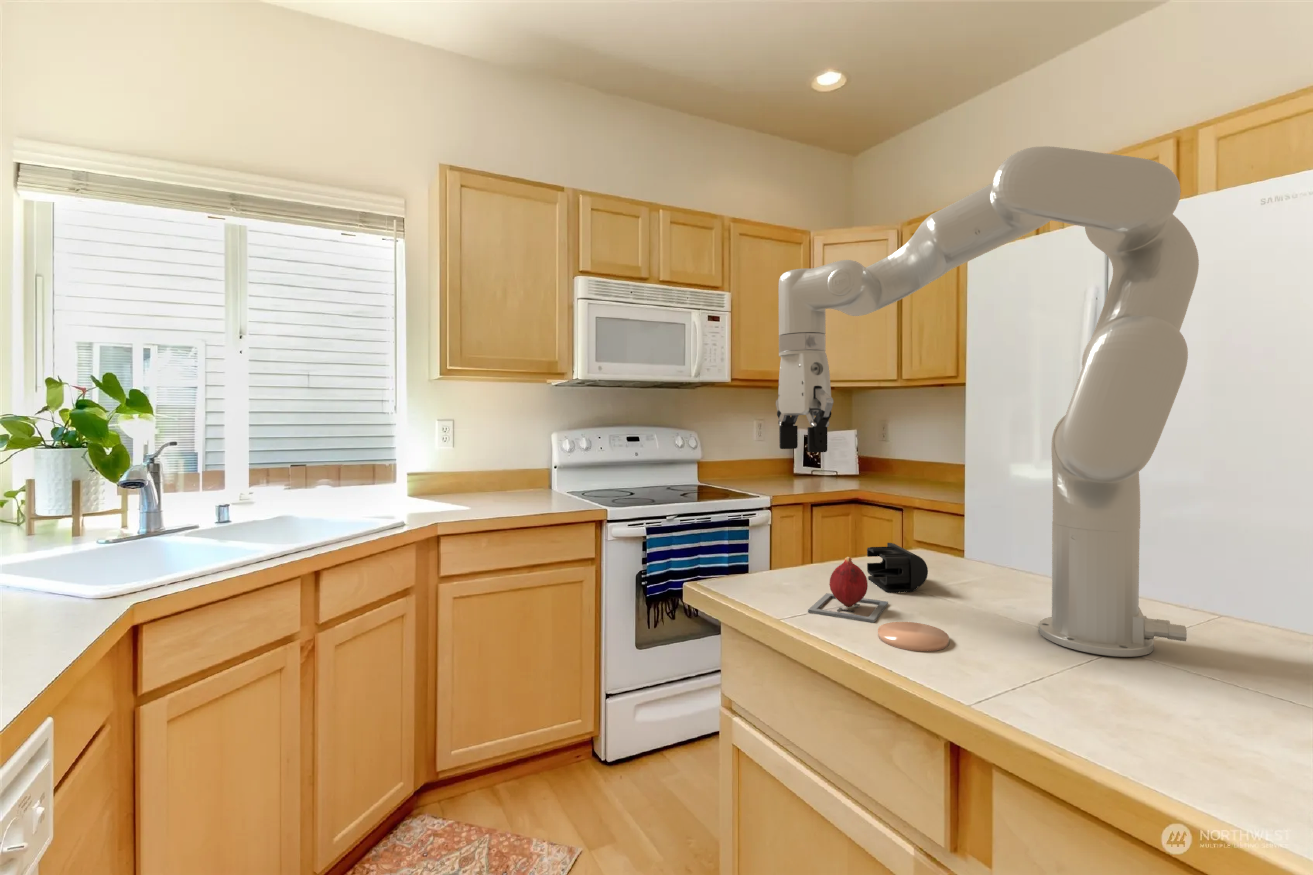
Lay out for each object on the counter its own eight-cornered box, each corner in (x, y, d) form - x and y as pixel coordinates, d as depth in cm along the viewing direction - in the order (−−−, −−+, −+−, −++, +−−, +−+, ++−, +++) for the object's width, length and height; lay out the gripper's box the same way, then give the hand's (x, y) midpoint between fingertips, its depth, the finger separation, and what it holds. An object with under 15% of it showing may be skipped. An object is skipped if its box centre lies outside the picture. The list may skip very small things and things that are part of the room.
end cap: (928, 593, 105) (928, 554, 105) (887, 594, 105) (887, 555, 105) (903, 577, 115) (903, 541, 115) (866, 578, 115) (866, 542, 115)
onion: (872, 612, 95) (872, 561, 94) (835, 613, 95) (835, 562, 95) (861, 601, 101) (860, 553, 100) (825, 601, 101) (825, 553, 100)
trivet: (952, 633, 86) (952, 628, 86) (944, 656, 78) (944, 650, 78) (885, 623, 90) (885, 617, 90) (871, 643, 83) (871, 637, 83)
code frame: (888, 604, 99) (888, 601, 99) (874, 622, 91) (874, 619, 91) (826, 595, 105) (826, 593, 105) (808, 612, 96) (808, 609, 96)
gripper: (851, 341, 94) (851, 453, 94) (797, 352, 110) (797, 447, 111) (807, 340, 92) (808, 454, 92) (758, 351, 108) (759, 448, 109)
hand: (802, 450), depth 102 cm, fingers open, 9 cm apart
